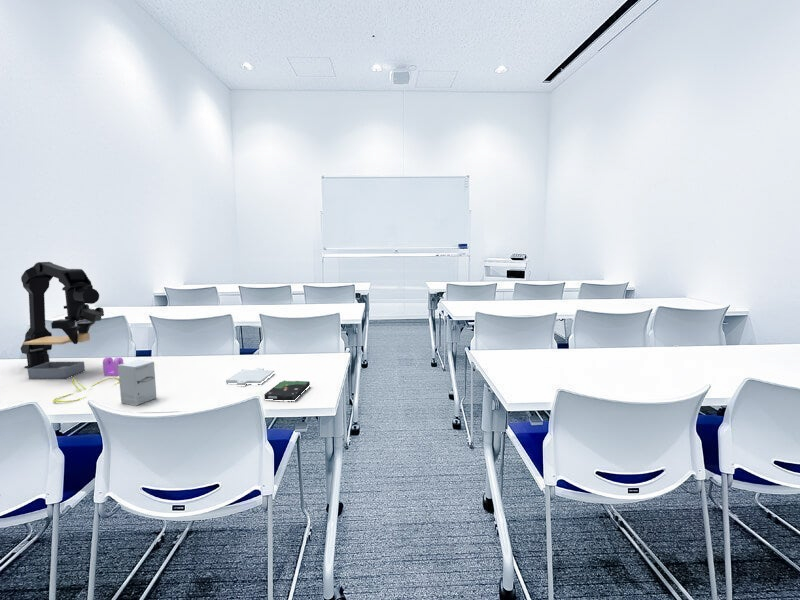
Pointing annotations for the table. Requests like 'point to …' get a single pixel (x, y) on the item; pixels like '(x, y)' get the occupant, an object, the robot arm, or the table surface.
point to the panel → (56, 370)
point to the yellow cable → (80, 390)
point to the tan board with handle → (57, 340)
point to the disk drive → (287, 390)
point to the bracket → (111, 366)
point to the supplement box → (137, 382)
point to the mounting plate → (250, 376)
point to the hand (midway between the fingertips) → (79, 342)
